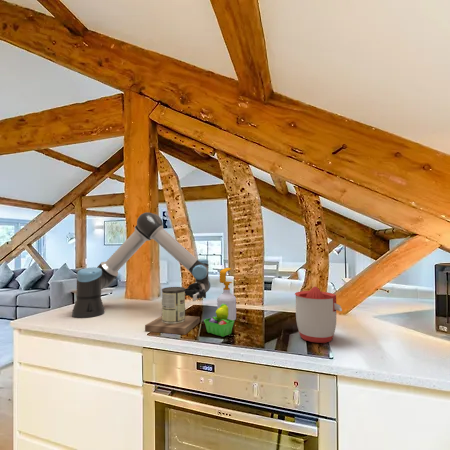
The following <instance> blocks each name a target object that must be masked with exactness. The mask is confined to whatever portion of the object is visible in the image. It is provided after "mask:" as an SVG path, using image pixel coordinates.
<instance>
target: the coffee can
mask: <svg viewBox="0 0 450 450" xmlns="http://www.w3.org/2000/svg"><path fill="white" fill-rule="evenodd" d="M185 289H186V287H182V286H168V287H164V288H162V289H161V313H162V314H161V316H162V322H163V323H166V324H176V323H181V322H184V321H185V316H186V296H185Z"/></svg>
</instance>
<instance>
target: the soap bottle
mask: <svg viewBox="0 0 450 450" xmlns="http://www.w3.org/2000/svg"><path fill="white" fill-rule="evenodd" d="M231 270H232V267H224V268H223V269H221V270H220V271H219V283H220V284H223V285H224V287H223V289H222V290H223V291H222V292H223V293H221V294H219V295H218V297H217V300H216V301H217V303H216V305H217V309H218V308H220V306H221V305H222V304H226V305H227V307H228V318H227V319H229V320H233V321H234V322H235V321H236V319H237V297H236V296H235V295H234V294H232V293H231V288H230V287H229V286H230V284H233V282H232V281H226V280H227V272H230V271H231ZM217 309H216V310H217Z"/></svg>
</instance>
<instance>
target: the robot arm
mask: <svg viewBox="0 0 450 450" xmlns="http://www.w3.org/2000/svg"><path fill="white" fill-rule="evenodd" d="M151 240H153V241H154V242H156V243H157V244H158V245H159V246H160V247H161V248H163V249H164V251H166V252H167V253H168V254H169V255H171V257H173V258H174V259H175V260H177V262H178V263H180V264H181V265H182V266H183V268H185V269H186V270H187V271H188V272H189V273H190V274H192V276H193V278H194V279H195V280H194V281H195V282H193V283H190V284H189V285H188V286H187V288H186V287H185V297H187V296H188V297H190V298H192V302H196V301H197V300H199V299H207V293H208V292H209V290H210V289H211V282H210V279H209V266H210V263H209V259H205V258H202V259H201V258H200V259H198V258H196V256H195V255H193V254H192V253H191V252H190V251H189V250H187V249H186V247H184V246H183V245H182V244H181V243H180V242H179V241H177V240H176V239H175V238H174V237H173V235H171V234H170V233H169V232H168V231H166V229H164V221H163V219H162V218H161V216H159V215H158V214H156V213H152V212H147V211H145V212H143V213H141V214H139V216H138V217H137V220H136V225H135V226H134V231H133V232H132V234H131V233H130V235H129V236H128V238H127V239H125V241H124V242H123V243H122V244H121V245H120V246H119V247H118V248H117V249H116V250H115V251H114V252H113V253H112V254H111V256H110V257H108V259H107V260H106V261H101V262H100V264H99V265H97V267H94V266H93V267H92V266H91V267H87V268H86V267H85V268H82V269H79V270H78V271H77V272H76V273H77V274H76V300H75V303H74V304H73V309H72V311H71V317H73V318H76V319H77V318H81V319H83V318H93V317H94V318H95V317H97V316H101V315H104V314H105V307H104V303H103V300H102V290H103V289H107V288H109V287H111V285H112V284H113V283H114V282H115V279H116V278H117V277H118V276H119V271H120V269H122V268H123V266H124V265H125V264H126V263H127V262H128V261H129V259H131V258H132V256H134V254H135V253H137V251H138V250H139V249H140V248H141V247H142V246H143V245H144V244H145V243H146V242H147V241H148V242H149V241H151Z"/></svg>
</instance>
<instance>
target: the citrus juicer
mask: <svg viewBox="0 0 450 450" xmlns="http://www.w3.org/2000/svg"><path fill="white" fill-rule="evenodd" d="M294 295H295V318H296V319H295V321H296V326H297V329H298V333H299V335H300V338H301V339H303V340H304V341H306V342H307V341H308V342H310V343H321V344H326V343H329V342H331V341H333V338H334V336H335V331H336V328H337V327H336V326H337V311H338V312H342V311H343V308H342V306H341V305H340V304H338V303H337V294H335V293H331V292H327V291H321V290H320V289H319V288H318V287H317V286H313V287H311V289H310V290H303V291H302V290H300V291H296V292H295V293H294Z"/></svg>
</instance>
